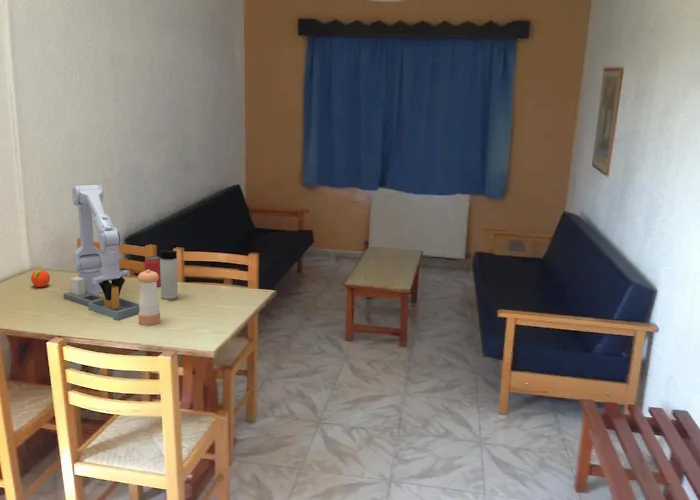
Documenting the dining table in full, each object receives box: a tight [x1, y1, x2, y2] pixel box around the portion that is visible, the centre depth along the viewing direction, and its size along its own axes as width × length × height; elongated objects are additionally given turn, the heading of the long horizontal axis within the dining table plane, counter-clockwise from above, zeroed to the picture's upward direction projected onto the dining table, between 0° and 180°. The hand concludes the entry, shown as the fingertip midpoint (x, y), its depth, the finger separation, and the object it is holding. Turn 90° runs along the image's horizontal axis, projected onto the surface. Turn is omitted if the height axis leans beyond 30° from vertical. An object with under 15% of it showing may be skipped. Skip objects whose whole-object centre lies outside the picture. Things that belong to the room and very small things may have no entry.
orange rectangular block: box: [103, 285, 120, 310], centre depth 229 cm, size 3×4×8 cm
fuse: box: [69, 276, 85, 296], centre depth 239 cm, size 3×4×8 cm
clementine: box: [30, 269, 51, 288], centre depth 252 cm, size 8×7×7 cm
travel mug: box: [159, 249, 179, 301], centre depth 244 cm, size 6×7×20 cm
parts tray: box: [87, 297, 140, 321], centre depth 229 cm, size 11×16×3 cm
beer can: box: [144, 255, 161, 287], centre depth 261 cm, size 7×7×12 cm
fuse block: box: [63, 291, 104, 307], centre depth 238 cm, size 7×16×2 cm, turn 58°
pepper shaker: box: [137, 270, 161, 326], centre depth 219 cm, size 7×7×19 cm
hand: (112, 298), depth 229 cm, fingers closed on orange rectangular block, 3 cm apart
